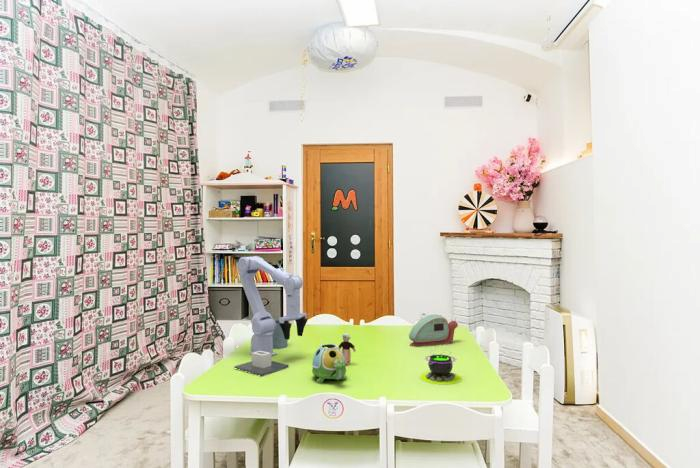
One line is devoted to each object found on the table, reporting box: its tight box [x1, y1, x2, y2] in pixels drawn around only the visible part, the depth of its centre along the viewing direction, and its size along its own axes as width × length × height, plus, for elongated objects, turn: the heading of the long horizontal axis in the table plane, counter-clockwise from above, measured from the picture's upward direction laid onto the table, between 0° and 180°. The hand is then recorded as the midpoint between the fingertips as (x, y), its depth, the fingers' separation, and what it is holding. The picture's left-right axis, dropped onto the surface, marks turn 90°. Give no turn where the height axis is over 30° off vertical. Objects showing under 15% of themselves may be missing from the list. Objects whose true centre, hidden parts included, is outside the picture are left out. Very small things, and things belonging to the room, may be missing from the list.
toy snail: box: [408, 314, 459, 347], centre depth 220 cm, size 25×8×14 cm, turn 107°
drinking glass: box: [273, 318, 290, 350], centre depth 217 cm, size 10×10×12 cm
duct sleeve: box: [251, 351, 272, 368], centre depth 183 cm, size 6×4×5 cm
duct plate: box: [233, 360, 290, 377], centre depth 183 cm, size 16×14×4 cm
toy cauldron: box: [419, 347, 462, 386], centre depth 169 cm, size 15×15×11 cm
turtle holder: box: [311, 343, 348, 384], centre depth 168 cm, size 12×18×12 cm
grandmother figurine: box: [337, 332, 357, 366], centre depth 187 cm, size 8×4×13 cm, turn 82°
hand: (293, 337), depth 194 cm, fingers open, 7 cm apart
